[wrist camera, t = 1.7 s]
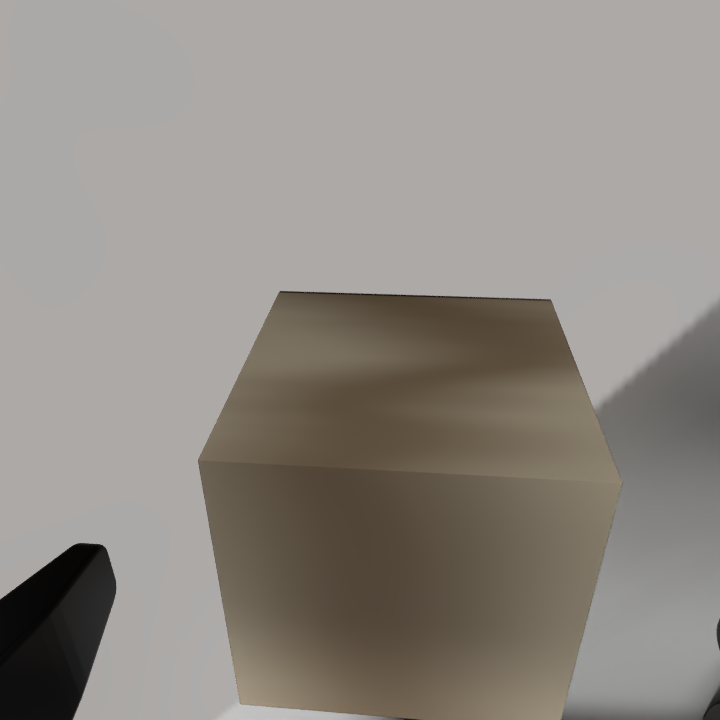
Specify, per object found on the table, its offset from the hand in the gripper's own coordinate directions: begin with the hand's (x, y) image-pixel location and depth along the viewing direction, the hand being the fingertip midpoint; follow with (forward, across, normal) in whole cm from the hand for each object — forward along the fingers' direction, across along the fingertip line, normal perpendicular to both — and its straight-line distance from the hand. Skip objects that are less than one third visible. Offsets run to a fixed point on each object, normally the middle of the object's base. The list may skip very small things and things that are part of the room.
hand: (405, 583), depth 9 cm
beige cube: (+4, 0, 0) cm, 5 cm away
